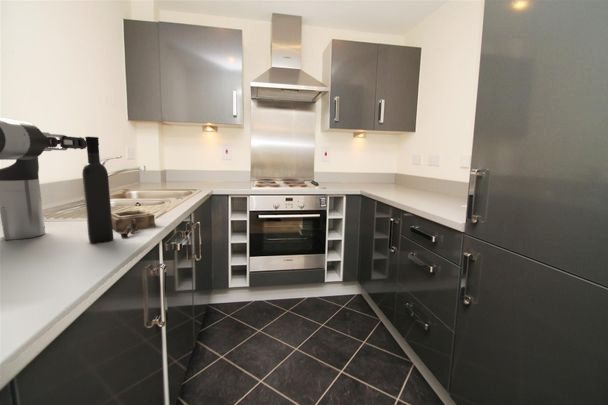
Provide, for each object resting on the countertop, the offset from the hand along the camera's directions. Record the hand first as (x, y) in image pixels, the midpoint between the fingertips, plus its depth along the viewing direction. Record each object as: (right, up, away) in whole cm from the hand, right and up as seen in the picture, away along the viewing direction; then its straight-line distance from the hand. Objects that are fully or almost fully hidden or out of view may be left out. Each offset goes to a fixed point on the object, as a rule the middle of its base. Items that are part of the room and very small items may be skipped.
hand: (65, 143), depth 71 cm
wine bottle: (-2, -26, +15) cm, 30 cm away
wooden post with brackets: (+2, -25, +22) cm, 34 cm away
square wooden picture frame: (-4, -23, +33) cm, 41 cm away
